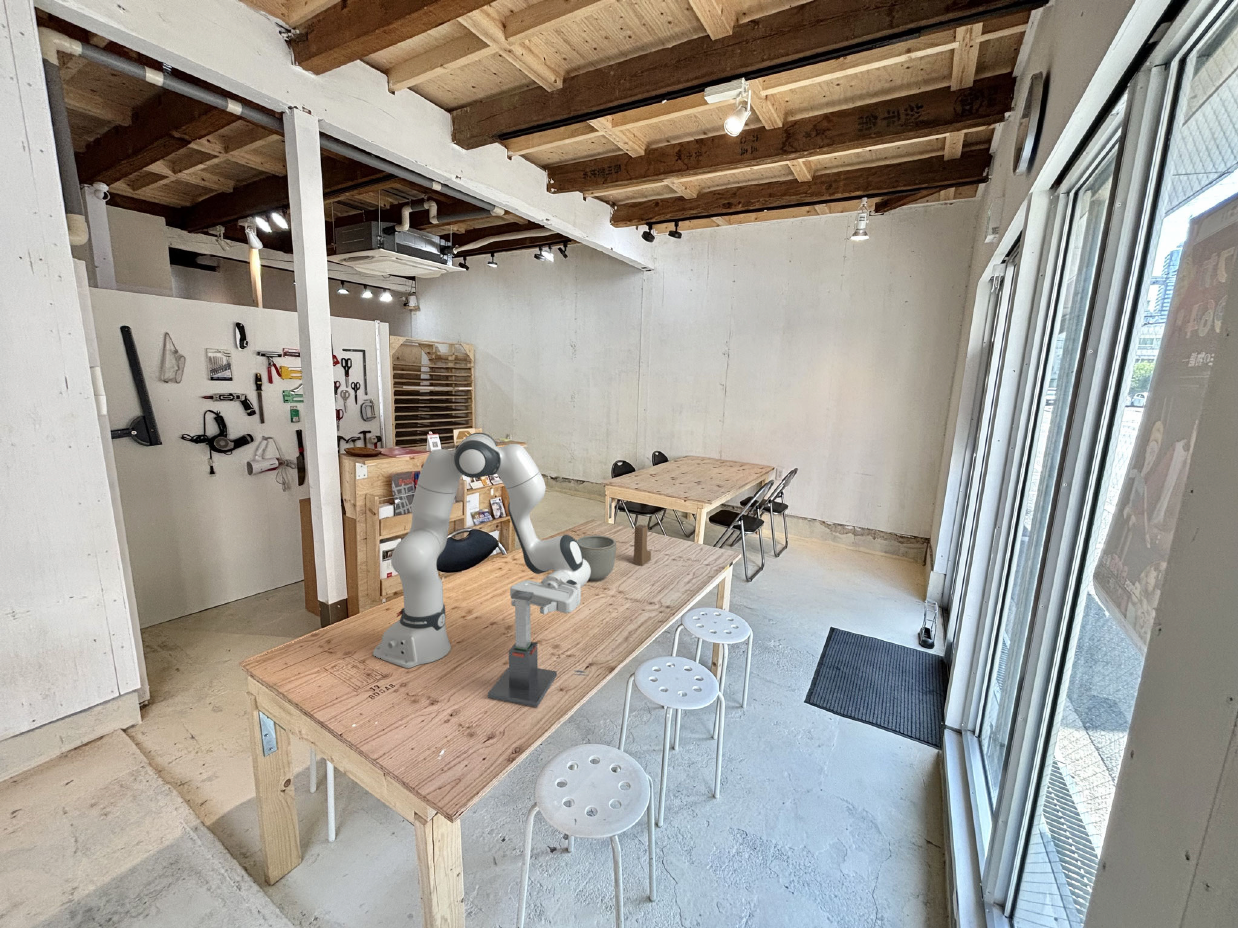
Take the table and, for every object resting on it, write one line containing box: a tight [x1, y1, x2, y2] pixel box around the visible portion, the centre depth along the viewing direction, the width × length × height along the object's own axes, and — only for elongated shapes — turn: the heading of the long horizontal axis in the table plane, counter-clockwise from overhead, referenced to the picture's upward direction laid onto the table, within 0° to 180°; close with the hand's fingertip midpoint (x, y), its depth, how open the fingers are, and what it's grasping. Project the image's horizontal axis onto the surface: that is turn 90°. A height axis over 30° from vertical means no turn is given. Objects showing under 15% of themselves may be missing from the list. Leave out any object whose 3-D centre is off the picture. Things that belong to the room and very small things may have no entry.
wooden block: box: [633, 524, 652, 567], centre depth 226 cm, size 9×4×18 cm, turn 149°
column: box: [511, 590, 534, 652], centre depth 132 cm, size 5×3×20 cm, turn 76°
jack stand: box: [487, 641, 558, 708], centre depth 134 cm, size 14×14×12 cm
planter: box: [575, 534, 617, 582], centre depth 208 cm, size 17×17×16 cm
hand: (527, 607), depth 133 cm, fingers open, 8 cm apart
